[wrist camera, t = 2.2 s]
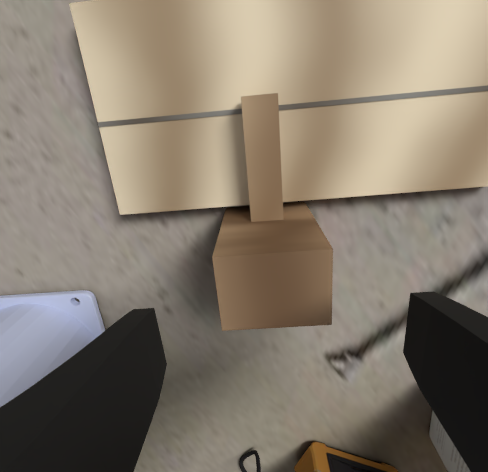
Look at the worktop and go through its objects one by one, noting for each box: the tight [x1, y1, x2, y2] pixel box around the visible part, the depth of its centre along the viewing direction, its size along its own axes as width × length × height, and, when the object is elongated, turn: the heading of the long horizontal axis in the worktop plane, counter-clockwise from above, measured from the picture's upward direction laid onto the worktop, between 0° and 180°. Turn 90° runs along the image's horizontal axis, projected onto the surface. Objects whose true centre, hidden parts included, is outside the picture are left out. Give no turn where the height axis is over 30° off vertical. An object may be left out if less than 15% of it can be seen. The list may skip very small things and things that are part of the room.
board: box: [69, 0, 488, 215], centre depth 14 cm, size 18×8×1 cm, turn 95°
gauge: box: [212, 93, 333, 331], centre depth 13 cm, size 4×8×6 cm, turn 5°
